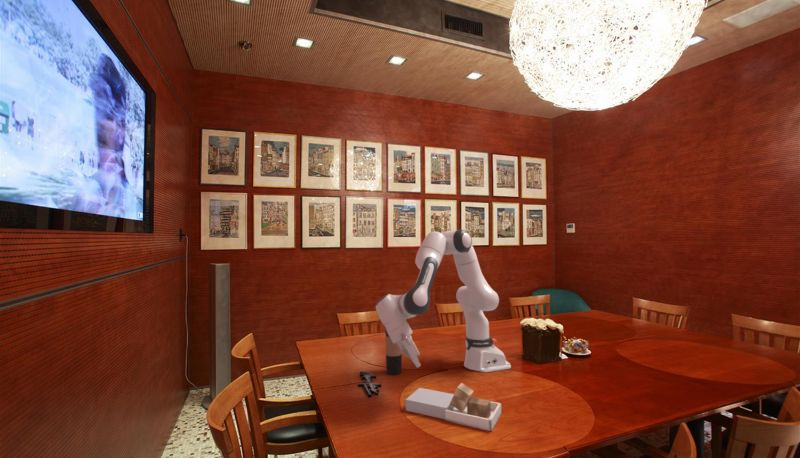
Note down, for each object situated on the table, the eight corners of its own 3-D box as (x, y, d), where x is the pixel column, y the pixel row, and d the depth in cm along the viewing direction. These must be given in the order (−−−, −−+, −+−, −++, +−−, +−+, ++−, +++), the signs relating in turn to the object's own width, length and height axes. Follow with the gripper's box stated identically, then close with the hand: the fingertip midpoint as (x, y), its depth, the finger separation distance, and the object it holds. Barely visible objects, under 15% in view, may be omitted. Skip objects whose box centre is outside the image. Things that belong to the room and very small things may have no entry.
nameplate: (351, 372, 174) (372, 369, 177) (351, 375, 174) (372, 373, 177) (363, 395, 148) (387, 392, 151) (363, 399, 148) (387, 396, 151)
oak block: (449, 403, 133) (457, 387, 131) (454, 398, 136) (461, 382, 135) (461, 412, 130) (469, 395, 129) (466, 407, 134) (473, 391, 133)
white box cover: (405, 410, 137) (405, 399, 137) (419, 397, 147) (419, 387, 147) (446, 419, 129) (446, 408, 129) (458, 405, 140) (457, 395, 140)
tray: (445, 420, 128) (445, 410, 128) (459, 404, 141) (458, 395, 141) (491, 431, 121) (491, 420, 121) (501, 413, 133) (501, 403, 133)
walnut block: (467, 401, 130) (486, 405, 126) (471, 396, 134) (490, 400, 130) (467, 416, 130) (487, 420, 126) (471, 410, 134) (490, 415, 130)
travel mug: (400, 375, 172) (399, 332, 173) (384, 374, 173) (383, 331, 174) (403, 369, 179) (402, 328, 180) (388, 369, 181) (387, 327, 182)
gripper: (411, 329, 137) (430, 364, 134) (404, 330, 156) (421, 360, 154) (396, 338, 135) (415, 373, 133) (391, 338, 155) (408, 368, 152)
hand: (418, 366), depth 143 cm, fingers closed
